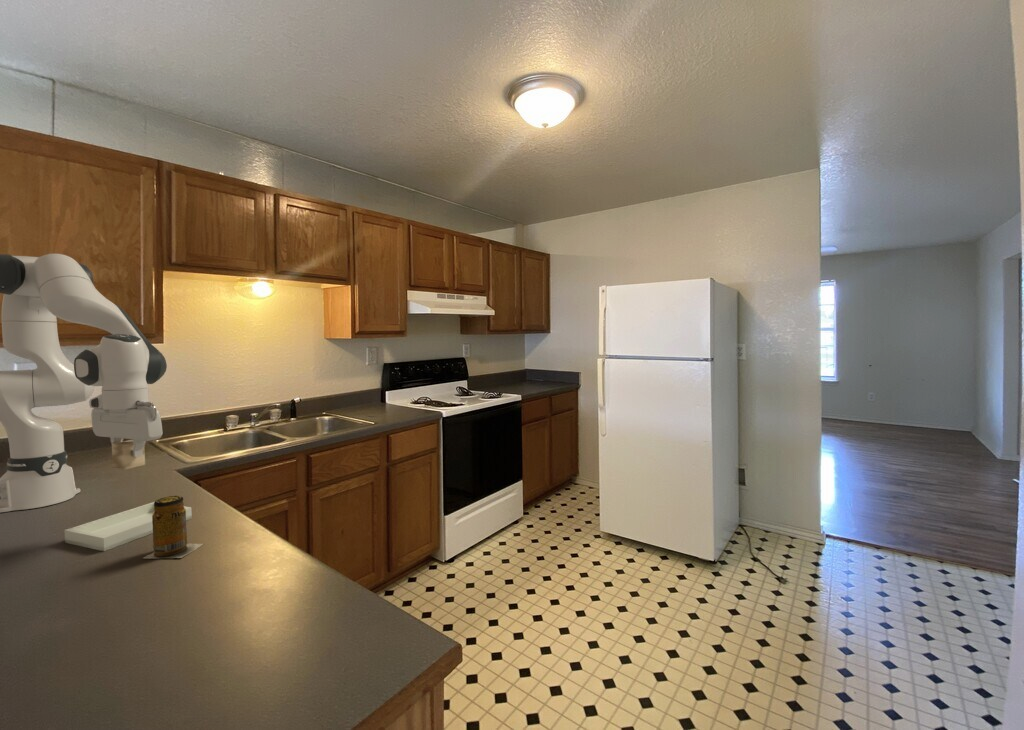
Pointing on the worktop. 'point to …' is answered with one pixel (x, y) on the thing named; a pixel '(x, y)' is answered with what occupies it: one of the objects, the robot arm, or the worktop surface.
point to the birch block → (125, 455)
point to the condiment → (170, 529)
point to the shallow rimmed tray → (115, 528)
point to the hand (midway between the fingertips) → (128, 455)
